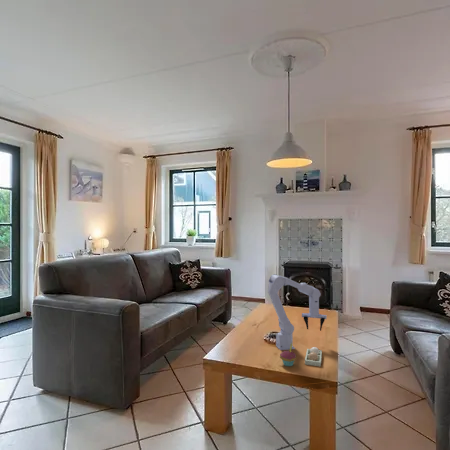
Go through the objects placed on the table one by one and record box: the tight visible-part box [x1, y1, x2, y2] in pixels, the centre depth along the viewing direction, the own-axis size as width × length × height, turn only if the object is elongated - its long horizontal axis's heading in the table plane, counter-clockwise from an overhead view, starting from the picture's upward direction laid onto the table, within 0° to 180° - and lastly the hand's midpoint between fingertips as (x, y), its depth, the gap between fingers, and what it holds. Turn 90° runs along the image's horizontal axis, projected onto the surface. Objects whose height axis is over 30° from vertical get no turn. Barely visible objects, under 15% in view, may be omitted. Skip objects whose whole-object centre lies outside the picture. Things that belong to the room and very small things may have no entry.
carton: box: [304, 348, 323, 367], centre depth 169 cm, size 16×8×2 cm, turn 161°
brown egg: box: [308, 352, 318, 361], centre depth 165 cm, size 5×5×5 cm
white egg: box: [309, 346, 320, 355], centre depth 172 cm, size 5×5×5 cm
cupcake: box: [279, 343, 297, 367], centre depth 163 cm, size 9×8×12 cm
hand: (314, 329), depth 189 cm, fingers open, 7 cm apart
